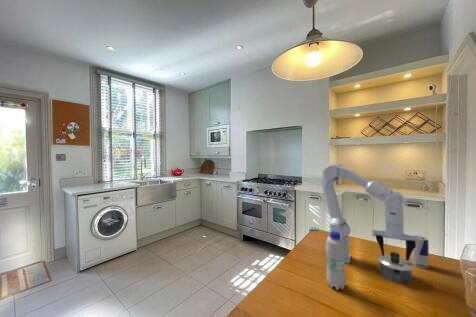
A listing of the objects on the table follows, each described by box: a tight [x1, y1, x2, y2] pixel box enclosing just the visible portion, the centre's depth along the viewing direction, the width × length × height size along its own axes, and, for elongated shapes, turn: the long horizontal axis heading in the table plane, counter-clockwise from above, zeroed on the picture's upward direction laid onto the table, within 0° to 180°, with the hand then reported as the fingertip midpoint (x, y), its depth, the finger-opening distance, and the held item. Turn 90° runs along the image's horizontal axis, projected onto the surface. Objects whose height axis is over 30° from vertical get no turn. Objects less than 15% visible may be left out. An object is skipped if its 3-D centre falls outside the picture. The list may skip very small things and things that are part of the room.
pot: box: [378, 261, 413, 285], centre depth 80 cm, size 10×13×5 cm
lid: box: [377, 251, 414, 272], centre depth 80 cm, size 11×11×4 cm
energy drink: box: [411, 235, 430, 269], centre depth 87 cm, size 5×5×12 cm
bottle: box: [325, 231, 346, 291], centre depth 75 cm, size 7×7×20 cm
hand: (394, 257), depth 80 cm, fingers open, 7 cm apart
